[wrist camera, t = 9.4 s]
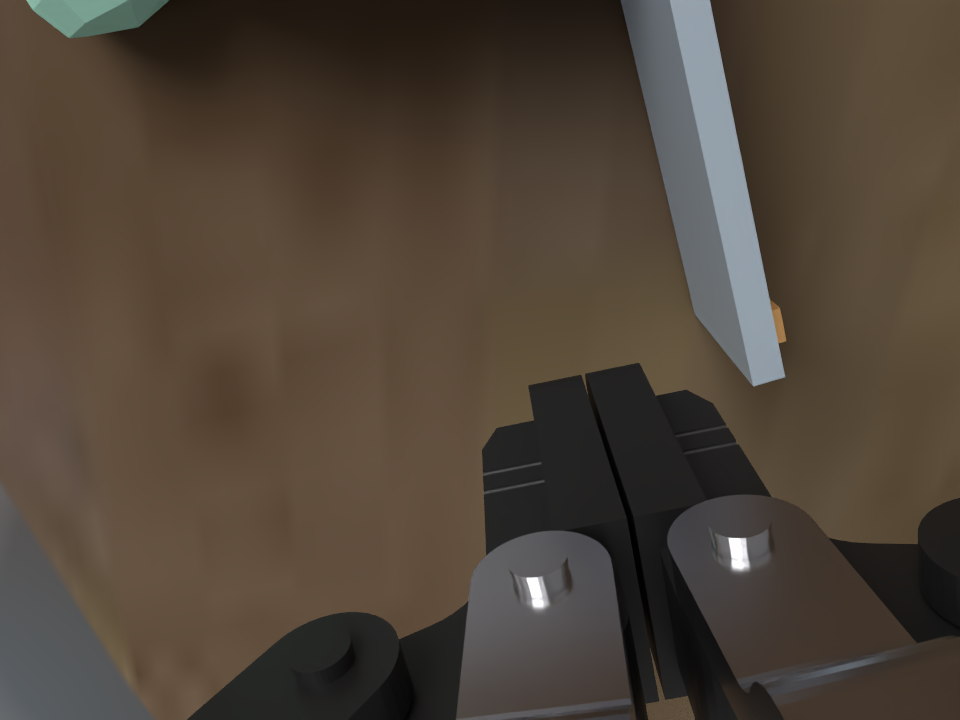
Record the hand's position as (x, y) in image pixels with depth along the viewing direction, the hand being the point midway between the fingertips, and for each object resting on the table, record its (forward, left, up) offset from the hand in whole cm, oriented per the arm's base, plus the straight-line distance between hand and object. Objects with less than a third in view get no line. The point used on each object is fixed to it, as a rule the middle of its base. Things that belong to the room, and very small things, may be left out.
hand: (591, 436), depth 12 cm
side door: (-6, -1, -21) cm, 22 cm away
